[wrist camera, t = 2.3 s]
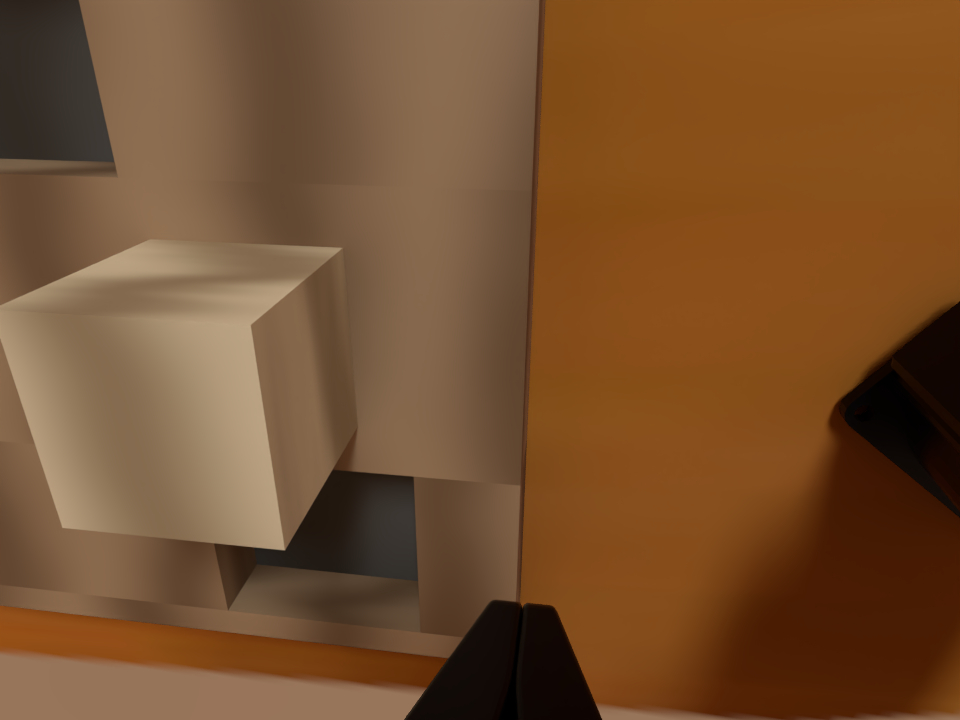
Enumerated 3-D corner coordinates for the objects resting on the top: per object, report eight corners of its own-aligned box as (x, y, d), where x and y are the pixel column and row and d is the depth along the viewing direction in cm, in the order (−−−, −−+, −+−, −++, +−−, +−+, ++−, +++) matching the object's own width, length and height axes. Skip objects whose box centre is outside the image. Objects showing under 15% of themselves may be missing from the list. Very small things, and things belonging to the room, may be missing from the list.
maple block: (342, 247, 16) (250, 324, 11) (357, 426, 18) (285, 550, 14) (149, 239, 17) (-9, 309, 12) (186, 413, 19) (62, 528, 14)
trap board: (551, -165, 14) (547, -207, 12) (519, 607, 23) (513, 665, 21) (-390, -135, 17) (-538, -164, 15) (-84, 542, 26) (-145, 588, 24)
